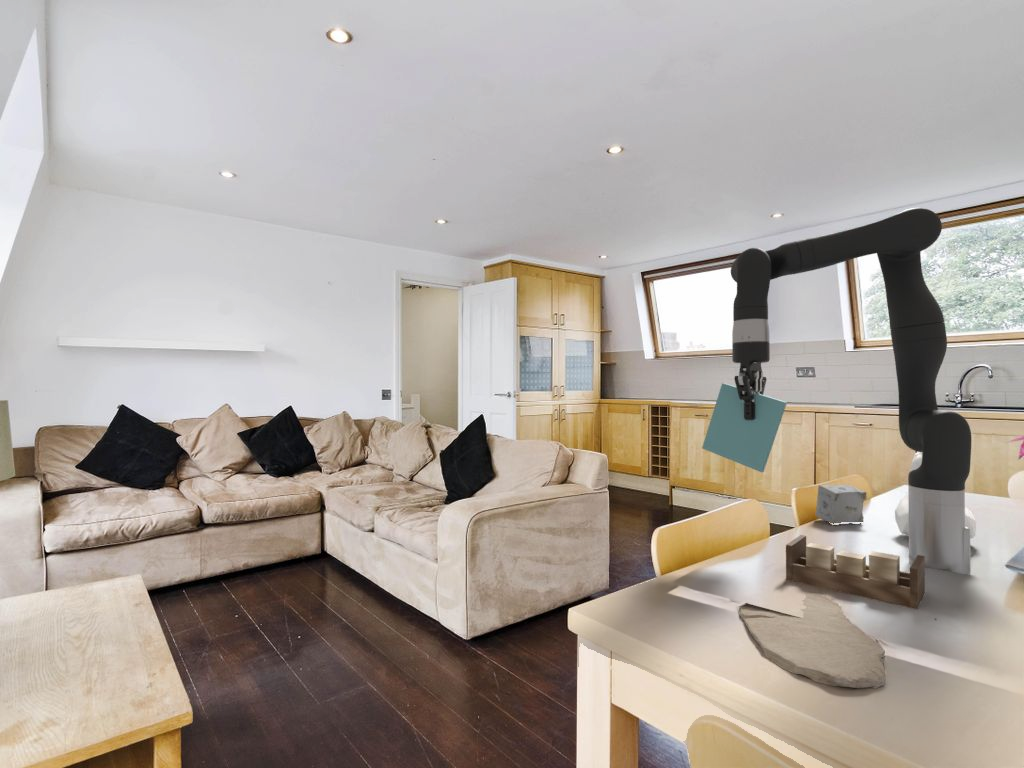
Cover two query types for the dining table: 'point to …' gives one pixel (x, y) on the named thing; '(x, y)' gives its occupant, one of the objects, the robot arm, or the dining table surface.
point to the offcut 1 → (820, 556)
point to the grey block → (840, 503)
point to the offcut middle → (851, 564)
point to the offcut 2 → (884, 567)
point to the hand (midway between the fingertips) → (751, 419)
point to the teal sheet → (743, 428)
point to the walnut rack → (857, 579)
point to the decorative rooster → (903, 507)
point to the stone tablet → (818, 643)
